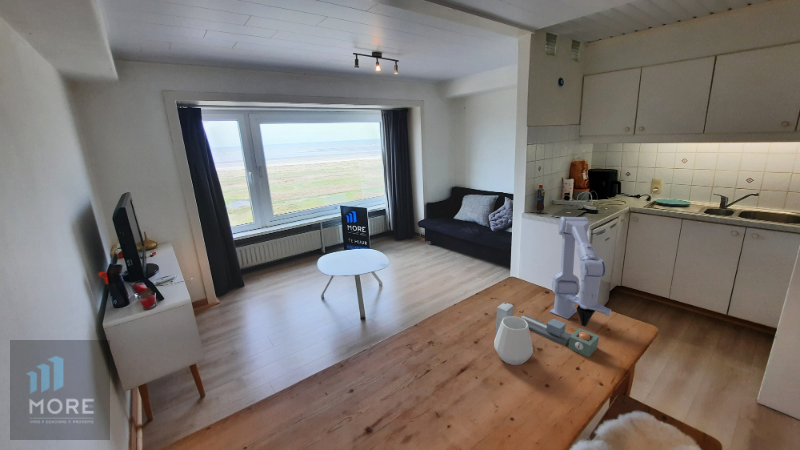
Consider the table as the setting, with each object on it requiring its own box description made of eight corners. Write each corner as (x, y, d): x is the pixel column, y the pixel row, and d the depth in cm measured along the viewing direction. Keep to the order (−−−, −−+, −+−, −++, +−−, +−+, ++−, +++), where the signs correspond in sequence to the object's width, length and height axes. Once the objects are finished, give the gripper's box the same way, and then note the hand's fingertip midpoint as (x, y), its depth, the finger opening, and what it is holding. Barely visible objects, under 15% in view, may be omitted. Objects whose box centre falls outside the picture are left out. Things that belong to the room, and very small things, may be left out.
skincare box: (505, 338, 128) (506, 311, 124) (494, 334, 131) (496, 307, 127) (512, 331, 132) (514, 305, 128) (502, 327, 135) (504, 301, 131)
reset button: (580, 340, 123) (581, 330, 122) (590, 344, 120) (592, 334, 119) (576, 344, 120) (577, 334, 119) (586, 348, 118) (587, 339, 117)
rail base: (525, 317, 141) (525, 313, 141) (572, 338, 126) (573, 333, 126) (516, 323, 137) (516, 319, 136) (564, 345, 122) (565, 340, 122)
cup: (489, 362, 115) (491, 328, 111) (497, 340, 126) (499, 309, 123) (529, 373, 109) (533, 338, 105) (534, 350, 120) (537, 317, 116)
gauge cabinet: (577, 339, 126) (579, 328, 124) (597, 347, 121) (599, 336, 119) (567, 348, 121) (569, 337, 119) (588, 358, 115) (589, 345, 114)
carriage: (552, 327, 131) (553, 318, 130) (564, 332, 128) (565, 323, 126) (546, 331, 128) (547, 323, 127) (558, 337, 124) (559, 328, 123)
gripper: (563, 288, 118) (559, 321, 122) (607, 303, 107) (602, 338, 111) (571, 282, 122) (567, 314, 126) (615, 295, 111) (609, 330, 115)
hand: (584, 325), depth 119 cm, fingers closed
